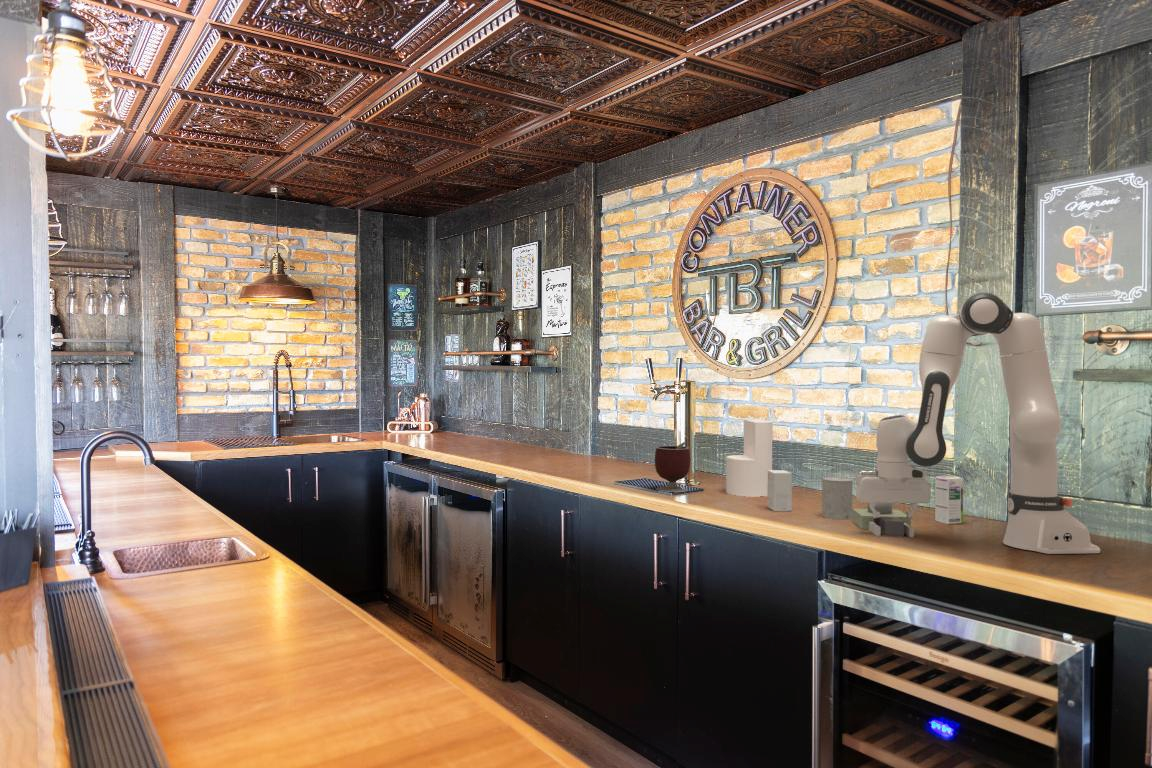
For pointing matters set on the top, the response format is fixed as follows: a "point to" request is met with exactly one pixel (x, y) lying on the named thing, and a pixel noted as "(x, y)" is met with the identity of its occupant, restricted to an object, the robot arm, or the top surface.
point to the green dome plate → (867, 521)
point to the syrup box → (949, 499)
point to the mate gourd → (672, 465)
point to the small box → (779, 490)
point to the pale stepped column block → (751, 461)
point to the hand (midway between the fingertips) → (893, 518)
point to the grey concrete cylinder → (837, 497)
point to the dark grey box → (891, 526)
